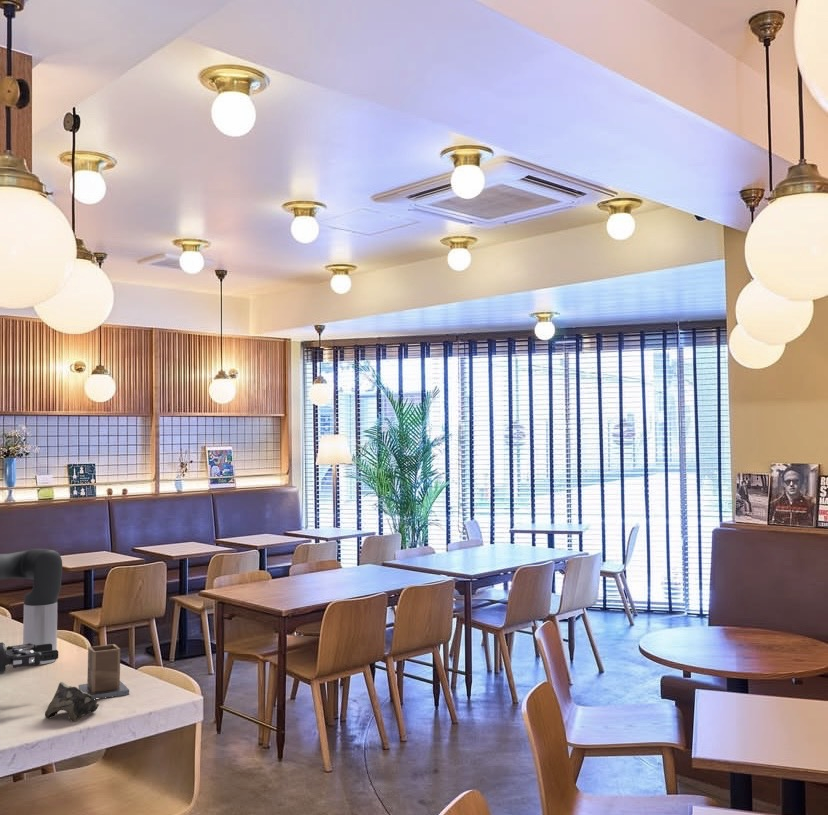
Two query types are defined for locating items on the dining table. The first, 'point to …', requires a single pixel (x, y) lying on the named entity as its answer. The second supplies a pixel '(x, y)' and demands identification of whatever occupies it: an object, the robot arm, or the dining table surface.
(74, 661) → the dining table surface
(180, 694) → the dining table surface
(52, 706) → the fossil
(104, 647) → the walnut sleeve
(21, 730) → the dining table surface
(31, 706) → the dining table surface
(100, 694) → the post plate
